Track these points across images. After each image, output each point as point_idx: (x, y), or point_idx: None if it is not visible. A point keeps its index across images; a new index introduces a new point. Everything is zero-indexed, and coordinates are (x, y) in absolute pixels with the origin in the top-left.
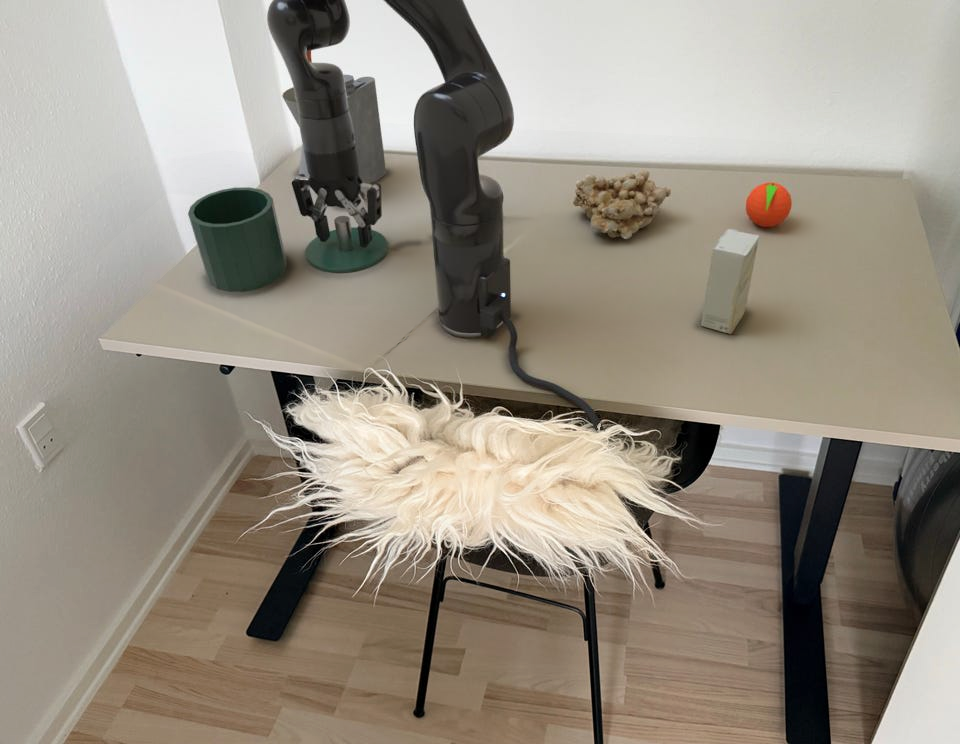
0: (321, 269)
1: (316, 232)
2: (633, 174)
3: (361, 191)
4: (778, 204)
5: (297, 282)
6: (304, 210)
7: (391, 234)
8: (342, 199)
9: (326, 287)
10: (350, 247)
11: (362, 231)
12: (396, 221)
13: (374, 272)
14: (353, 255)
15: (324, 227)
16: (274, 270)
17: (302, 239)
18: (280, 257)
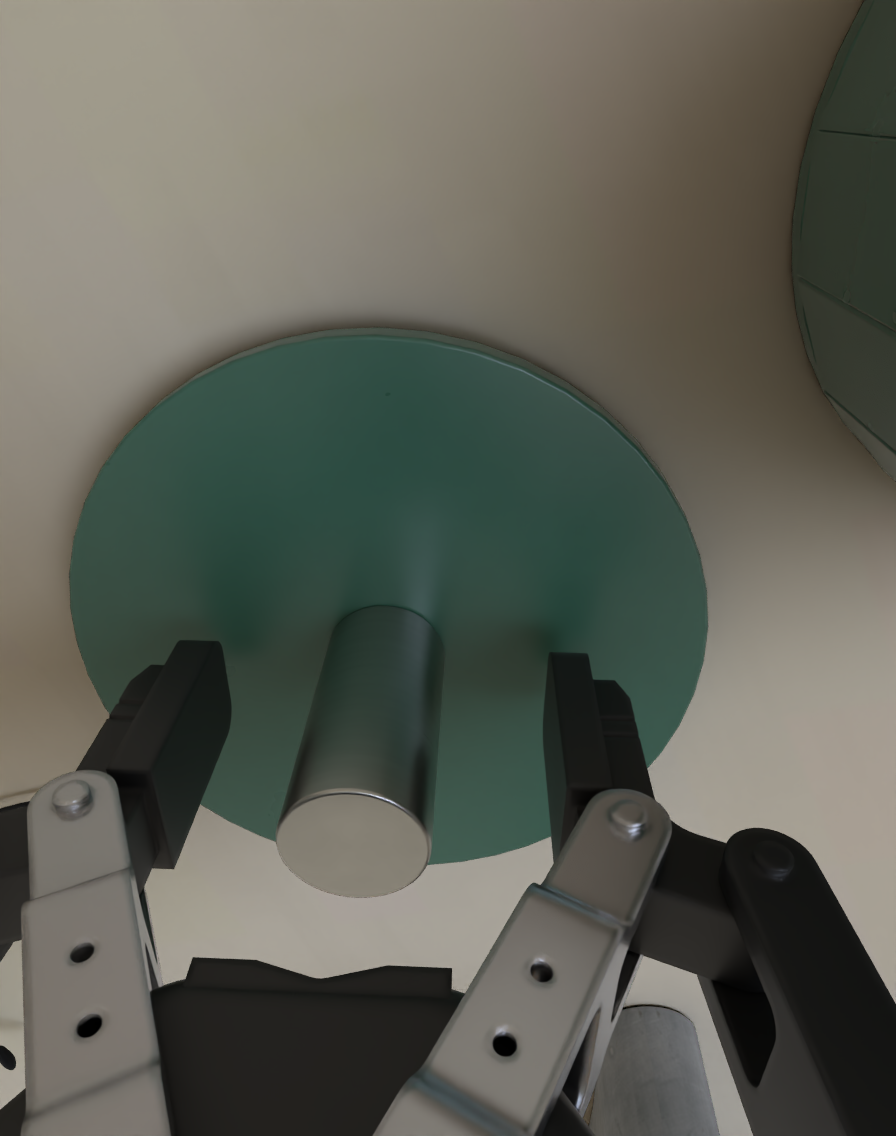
0: (456, 339)
1: (628, 713)
2: None
3: (594, 1124)
4: None
5: (628, 133)
6: (764, 890)
7: (236, 849)
8: (93, 1091)
9: (317, 119)
10: (330, 642)
11: (126, 743)
12: (283, 950)
13: (66, 445)
14: (277, 569)
15: (554, 764)
16: (893, 60)
17: (798, 721)
18: (874, 245)
